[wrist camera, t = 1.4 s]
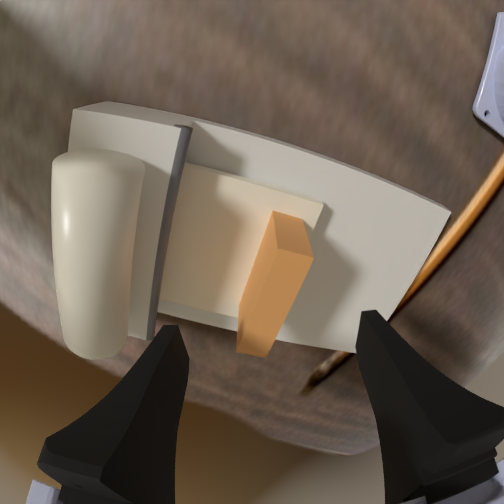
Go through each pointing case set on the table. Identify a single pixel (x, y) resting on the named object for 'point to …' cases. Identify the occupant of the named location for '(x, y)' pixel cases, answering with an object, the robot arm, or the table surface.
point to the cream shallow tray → (239, 251)
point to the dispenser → (161, 215)
